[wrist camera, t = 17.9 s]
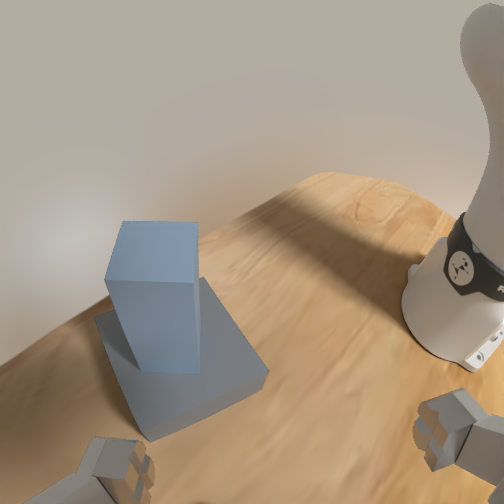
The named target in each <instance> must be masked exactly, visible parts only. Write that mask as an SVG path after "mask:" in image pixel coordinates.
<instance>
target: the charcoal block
mask: <svg viewBox="0 0 504 504" xmlns="http://www.w3.org/2000/svg"><path fill="white" fill-rule="evenodd" d="M199 297H200V322H201V329H200V374H181V373H160V372H145V371H141V370H140V367H139V365H138V363H137V361H136V359H135V356H134V354H133V352H132V350H131V347H130V345H129V343H128V340H127V338H126V335H125V333H124V331H123V328H122V326H121V323H120V321H119V318H118V316H117V313H116V310H113V311H110V312H107V313H105V314H102V315H99V316H97V317H94V318H95V321H96V324H97V327H98V330H99V333H100V336H101V339H102V342H103V344H104V347H105V350H106V352H107V355H108V358H109V360H110V363H111V366H112V368H113V371H114V373H115V376H116V378H117V380H118V383H119V385H120V388H121V390H122V392H123V394H124V397H125V399H126V401H127V404H128V406H129V408H130V410H131V412H132V414H133V417H134V419H135V421H136V423H137V425H138V427H139V429H140V431H141V432H142V433H143V435H144V436H145V437H146V438H147V439H148V440H149V442H150V443H151V442H153V441H156V440H158V439H160V438H163V437H165V436H167V435H170V434H172V433H174V432H177V431H179V430H181V429H183V428H186V427H188V426H190V425H192V424H194V423H196V422H199V421H201V420H203V419H205V418H207V417H209V416H211V415H213V414H215V413H217V412H219V411H221V410H223V409H225V408H227V407H229V406H231V405H233V404H235V403H237V402H239V401H241V400H243V399H245V398H247V397H249V396H250V395H252V394H254V393H256V392H258V391H260V390H262V387H263V385H264V382H265V380H266V377H267V375H268V372H269V370H268V368H267V367H266V365H265V364H264V363H263V361H262V360H261V359H260V357H259V356H258V354H257V353H256V352H255V350H254V349H253V347H252V346H251V345H250V343H249V342H248V340H247V339H246V338H245V336H244V335H243V333H242V332H241V331H240V329H239V328H238V326H237V325H236V323H235V322H234V321H233V319H232V318H231V316H230V315H229V313H228V312H227V310H226V309H225V307H224V306H223V305H222V303H221V302H220V300H219V299H218V297H217V296H216V294H215V293H214V291H213V290H212V288H211V287H210V285H209V284H208V282H207V281H206V279H205V278H204V277H202V278H199Z"/></svg>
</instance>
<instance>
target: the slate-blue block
mask: <svg viewBox="0 0 504 504" xmlns="http://www.w3.org/2000/svg"><path fill="white" fill-rule="evenodd" d="M104 280H105V283H106V285H107V289H108V291H109V294H110V297H111V300H112V302H113V305H114V308H115V310H116V313H117V316H118V318H119V321H120V323H121V326H122V328H123V331H124V333H125V335H126V338H127V340H128V343H129V345H130V347H131V350H132V352H133V354H134V356H135V359H136V361H137V363H138V365H139V367H140V370H141V371H145V372H160V373H181V374H200V329H201V322H200V297H199V261H198V222H168V221H165V222H164V221H123V222H122V225H121V228H120V231H119V234H118V237H117V240H116V243H115V246H114V249H113V252H112V255H111V259H110V262H109V266H108V269H107V272H106V275H105V279H104Z"/></svg>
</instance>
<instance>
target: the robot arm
mask: <svg viewBox="0 0 504 504" xmlns="http://www.w3.org/2000/svg"><path fill="white" fill-rule="evenodd" d="M460 45H461V46H460V48H461V56H462V60H463V64H464V67H465V70H466V72H467V74H468V76H469V78H470V80H471V82H472V83H473V85H474V86H475V88H476V90H477V92H478V94H479V96H480V98H481V100H482V102H483V105H484V108H485V111H486V115H487V118H488V123H489V131H490V150H489V157H488V162H487V165H486V168H485V171H484V174H483V177H482V179H481V182H480V184H479V187H478V189H477V191H476V194H475V196H474V198H473V200H472V202H471V204H470V206H469V208H468V209H467V211H466V212H464V213H462V214H461V215H460V217H459V219H458V220H457V221H456V222H455V224H454V225H453V227H452V230H451V232H450V234H449V235H448V237H444V238H443V237H441V238H439V239H438V240H437V242H436V243H435V245H434V246H433V247H432V249H431V250H430V251H429V253H428V254H427V256H426V257H425V258H424V260H423V261H422V262H421V264H413V265H412V266H411V267H410V268H409V270H408V284H407V286H406V288H405V289H404V292H403V295H402V311H403V315H404V318H405V321H406V323H407V325H408V327H409V329H410V331H411V332H412V334H413V335H414V336H415V338H416V339H417V340H418V341H419V342H420V343H421V344H422V345H423V346H424V347H425V348H426V349H427V350H428V351H430V352H431V353H433V354H434V355H436V356H438V357H440V358H443V359H445V360H449V361H453V362H456V363H459V364H460V365H462V366H463V367H464V368H466V369H467V370H469V371H471V372H476V371H477V370H478V369H479V368H480V367H481V366H482V365H483V364H484V363H485V362H486V360H487V359H488V358H489V357H490V356H491V354H492V353H493V352H494V351H495V349H496V348H497V347H498V346H499V344H500V343H501V342H502V341H503V339H504V7H502V6H499V5H495V4H492V3H489V4H486V5H483V6H481V7H479V8H478V9H476V10H475V11H474V12H473V13H472V14H471V15H470V16H469V17H468V19H467V20H466V22H465V24H464V26H463V29H462V33H461V41H460ZM417 412H418V414H419V415H420V416H419V417H418V418H417V420H416V421H415V422H414V426H413V438H414V441H415V444H416V445H417V447H418V449H421V450H423V451H425V455H424V459H425V461H426V462H427V464H428V466H429V467H430V469H431V471H432V472H434V471H436V470H439V469H442V468H444V467H446V466H449V465H451V464H454V463H455V465H457V466H459V467H461V468H463V469H465V470H466V471H468V472H470V473H472V474H474V475H476V476H478V477H479V478H481V479H483V480H485V481H487V482H489V483H491V484H493V485H495V486H497V487H496V488H495V489H494V491H493V492H492V494H491V495H490V496H489V499H488V502H489V504H504V418H503V417H500V416H496V415H493V414H492V415H490V416H489V415H488V414H487V413H486V412H485V411H484V409H483V408H482V407H481V406H480V405H479V404H478V403H477V402H476V401H475V400H474V398H473V397H472V396H471V395H470V394H469V393H468V392H467V391H466V390H465V389H463V388H459V389H456V390H454V391H451V392H449V393H446V394H443V395H440V396H438V397H435V398H432V399H429V400H427V401H424V402H421V404H420V405H419V407H418V411H417ZM145 451H146V447H145V445H144V443H143V442H142V441H139V440H127V439H117V438H106V437H98V436H95V437H94V438H92V440H91V442H90V444H89V446H88V448H87V450H86V452H85V454H84V457H83V459H82V461H81V463H80V465H79V468H78V470H77V472H76V473H70V474H69V475H67V476H66V477H64V478H63V479H61V480H60V481H58V482H57V483H55V484H53V485H52V486H50V487H49V488H47V489H46V490H44V491H42V492H41V493H39V494H37V495H36V496H34V497H32V498H31V499H29V500H28V501H26V502H24V503H22V504H150V500H151V495H150V493H149V492H148V490H149V489H150V488H151V487H152V486H153V485H154V481H155V468H154V464H153V461H152V459H151V458H150V457H149V456H147V455H146V454H145Z"/></svg>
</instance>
